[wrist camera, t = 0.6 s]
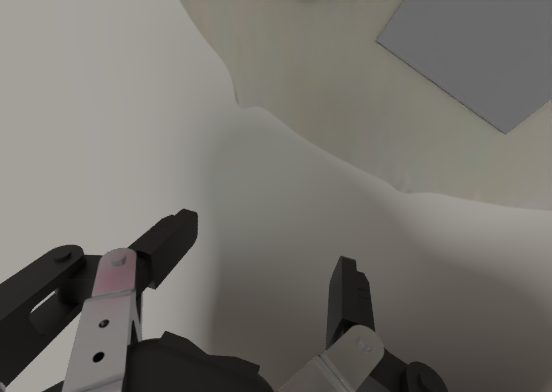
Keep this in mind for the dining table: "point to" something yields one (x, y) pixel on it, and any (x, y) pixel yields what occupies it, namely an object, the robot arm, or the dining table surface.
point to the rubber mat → (479, 52)
